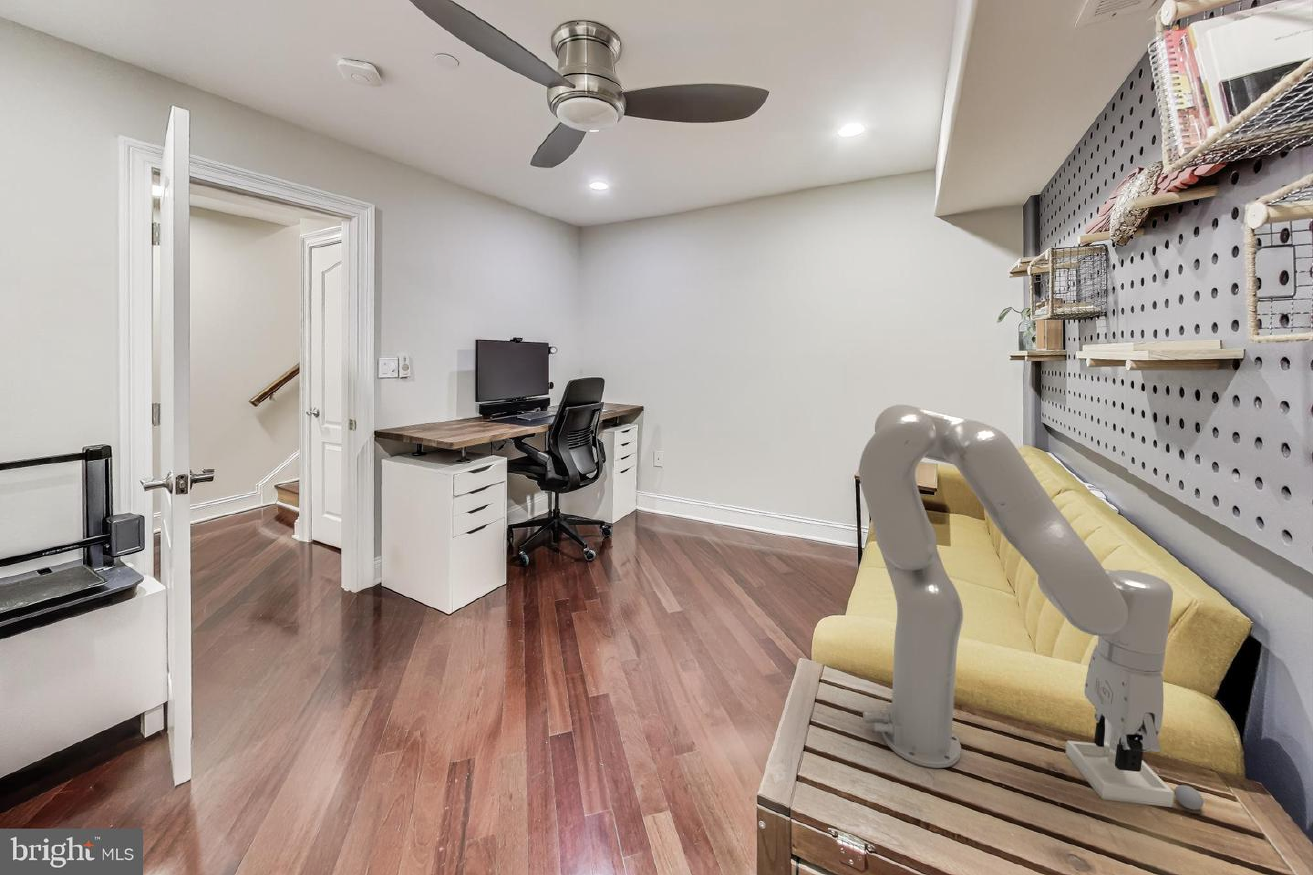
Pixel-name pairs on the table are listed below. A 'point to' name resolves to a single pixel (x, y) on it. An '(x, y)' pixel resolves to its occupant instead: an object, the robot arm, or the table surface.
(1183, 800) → the ball
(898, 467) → the robot arm
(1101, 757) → the tray
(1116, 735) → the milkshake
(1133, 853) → the table surface
